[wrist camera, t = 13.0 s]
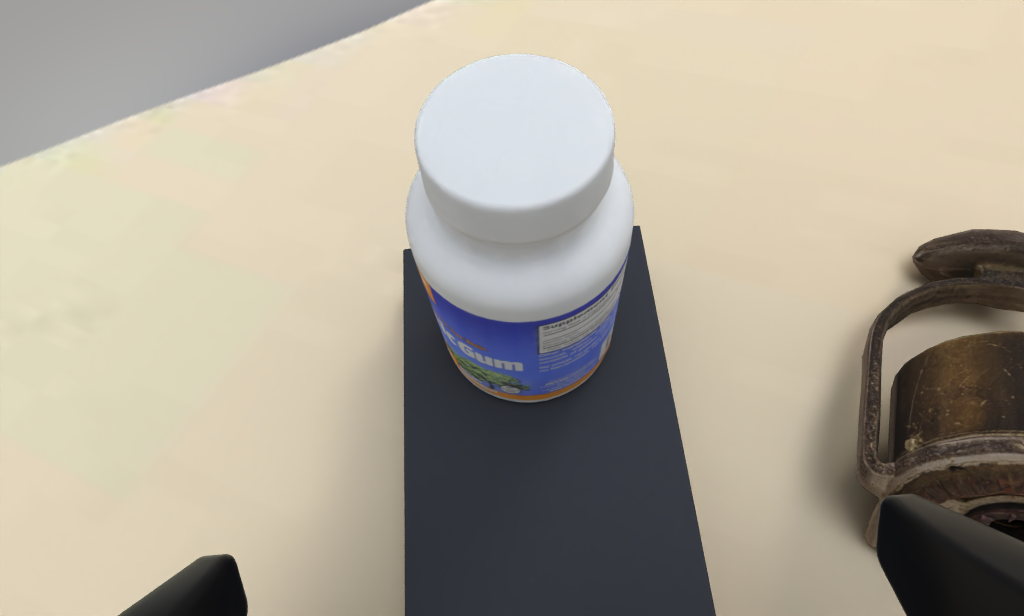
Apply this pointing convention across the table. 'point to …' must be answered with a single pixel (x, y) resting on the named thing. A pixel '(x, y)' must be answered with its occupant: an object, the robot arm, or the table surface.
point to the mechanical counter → (953, 391)
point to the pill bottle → (520, 223)
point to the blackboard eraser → (549, 481)
